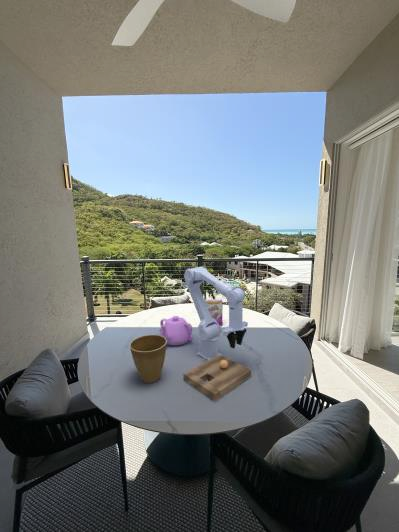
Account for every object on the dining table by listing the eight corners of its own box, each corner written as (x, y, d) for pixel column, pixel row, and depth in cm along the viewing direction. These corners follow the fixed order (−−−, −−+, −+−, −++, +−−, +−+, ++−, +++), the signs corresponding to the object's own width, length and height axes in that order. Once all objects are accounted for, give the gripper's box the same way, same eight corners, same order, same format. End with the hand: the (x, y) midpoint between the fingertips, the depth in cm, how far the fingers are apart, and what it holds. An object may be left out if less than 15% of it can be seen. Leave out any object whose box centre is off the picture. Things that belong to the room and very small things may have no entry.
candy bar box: (204, 327, 159) (204, 301, 156) (204, 323, 164) (204, 299, 161) (222, 326, 159) (222, 301, 156) (221, 323, 164) (221, 298, 161)
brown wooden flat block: (183, 380, 105) (183, 373, 105) (219, 360, 120) (219, 354, 120) (214, 401, 92) (214, 394, 92) (251, 376, 107) (251, 370, 107)
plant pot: (152, 364, 118) (150, 331, 115) (175, 376, 108) (174, 340, 106) (124, 379, 106) (122, 343, 104) (147, 394, 97) (145, 355, 94)
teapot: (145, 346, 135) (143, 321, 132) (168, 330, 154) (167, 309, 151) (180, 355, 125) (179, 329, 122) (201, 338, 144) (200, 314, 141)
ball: (218, 367, 108) (218, 360, 108) (223, 364, 111) (223, 357, 110) (224, 371, 106) (224, 363, 105) (229, 367, 108) (229, 360, 108)
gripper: (232, 323, 102) (232, 355, 104) (253, 314, 112) (253, 343, 114) (219, 319, 107) (219, 349, 109) (240, 310, 117) (240, 338, 119)
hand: (235, 345), depth 112 cm, fingers open, 4 cm apart
